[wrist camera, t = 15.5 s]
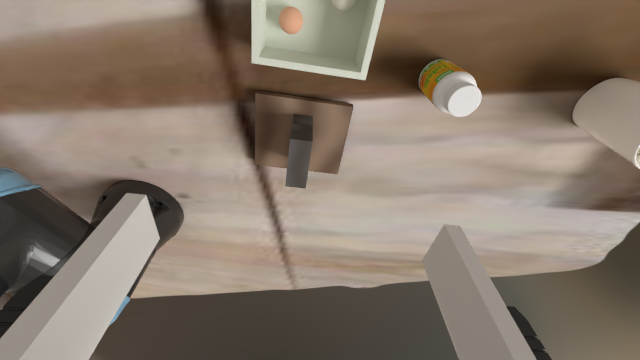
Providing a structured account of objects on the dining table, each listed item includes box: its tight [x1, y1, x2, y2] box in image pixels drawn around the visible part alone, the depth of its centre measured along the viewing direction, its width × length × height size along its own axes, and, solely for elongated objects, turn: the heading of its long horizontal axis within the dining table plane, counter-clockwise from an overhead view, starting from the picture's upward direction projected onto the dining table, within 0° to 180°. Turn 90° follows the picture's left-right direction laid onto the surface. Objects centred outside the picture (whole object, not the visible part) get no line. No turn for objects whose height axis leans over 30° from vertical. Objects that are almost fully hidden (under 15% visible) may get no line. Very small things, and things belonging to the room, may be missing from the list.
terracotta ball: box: [279, 6, 303, 34], centre depth 33 cm, size 3×3×3 cm
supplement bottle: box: [419, 59, 481, 117], centre depth 37 cm, size 5×5×10 cm
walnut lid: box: [255, 91, 353, 188], centre depth 42 cm, size 15×13×10 cm
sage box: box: [251, 0, 385, 80], centre depth 32 cm, size 14×12×7 cm
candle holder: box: [572, 78, 640, 169], centre depth 38 cm, size 10×10×12 cm
